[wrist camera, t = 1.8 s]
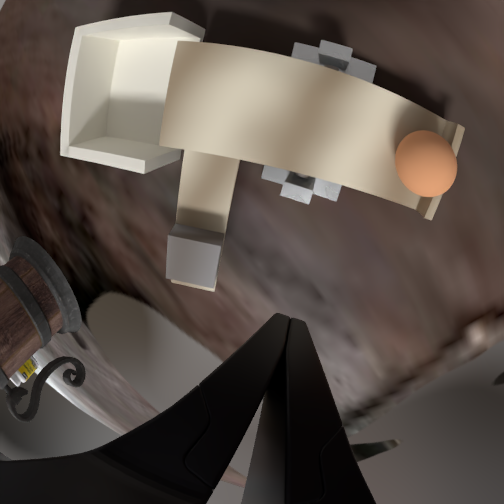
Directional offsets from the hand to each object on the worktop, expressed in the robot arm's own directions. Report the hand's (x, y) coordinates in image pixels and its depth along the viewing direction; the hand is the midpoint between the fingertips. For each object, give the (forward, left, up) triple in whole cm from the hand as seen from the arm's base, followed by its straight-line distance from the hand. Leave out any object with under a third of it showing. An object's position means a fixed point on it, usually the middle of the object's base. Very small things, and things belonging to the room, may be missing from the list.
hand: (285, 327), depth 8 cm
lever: (+1, -1, -10) cm, 10 cm away
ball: (-5, -5, -9) cm, 11 cm away
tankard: (+30, +25, -12) cm, 41 cm away
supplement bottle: (+54, +59, -12) cm, 81 cm away
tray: (+14, -5, -12) cm, 19 cm away
